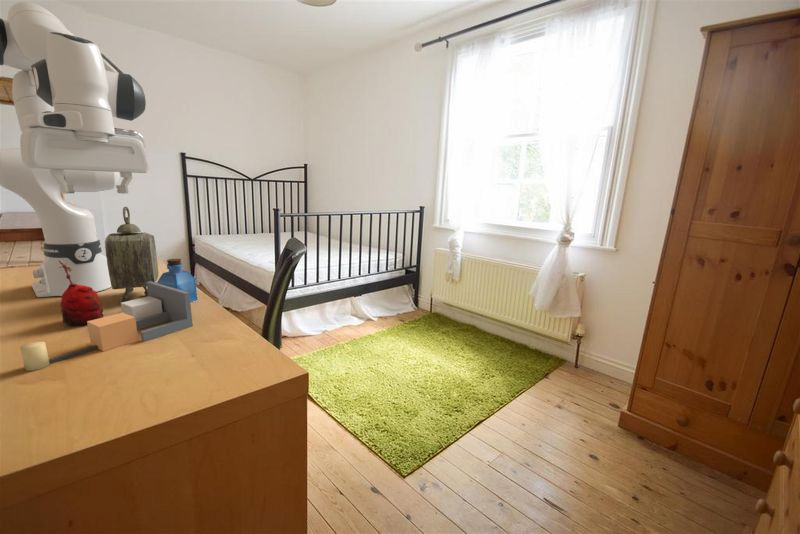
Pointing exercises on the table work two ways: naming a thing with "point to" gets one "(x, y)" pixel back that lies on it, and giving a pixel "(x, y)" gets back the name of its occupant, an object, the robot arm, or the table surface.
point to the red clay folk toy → (79, 303)
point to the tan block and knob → (102, 337)
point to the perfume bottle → (179, 278)
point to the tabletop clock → (131, 257)
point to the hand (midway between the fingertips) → (97, 193)
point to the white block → (142, 307)
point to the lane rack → (166, 311)
